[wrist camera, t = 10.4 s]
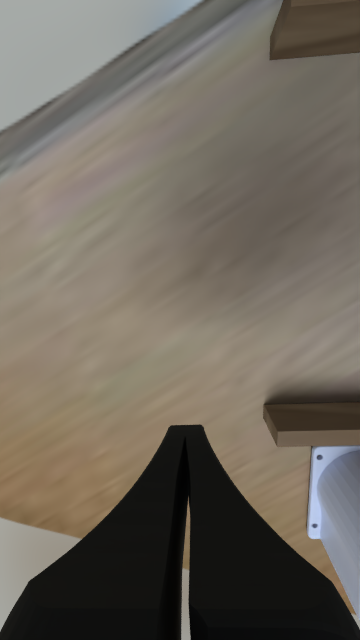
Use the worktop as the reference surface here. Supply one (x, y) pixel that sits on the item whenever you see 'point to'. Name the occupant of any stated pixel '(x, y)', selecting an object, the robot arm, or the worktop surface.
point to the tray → (293, 42)
